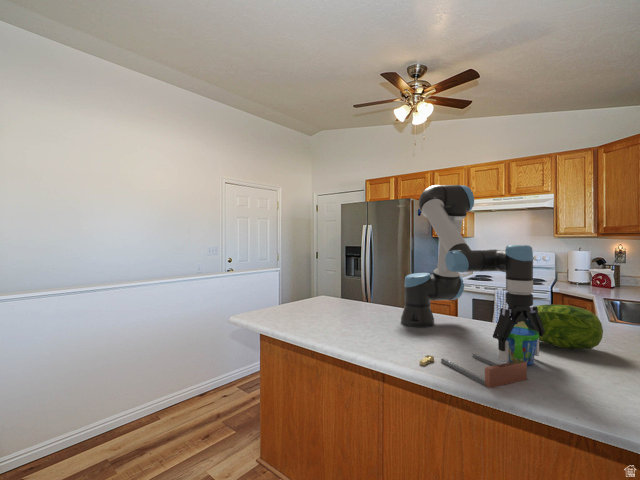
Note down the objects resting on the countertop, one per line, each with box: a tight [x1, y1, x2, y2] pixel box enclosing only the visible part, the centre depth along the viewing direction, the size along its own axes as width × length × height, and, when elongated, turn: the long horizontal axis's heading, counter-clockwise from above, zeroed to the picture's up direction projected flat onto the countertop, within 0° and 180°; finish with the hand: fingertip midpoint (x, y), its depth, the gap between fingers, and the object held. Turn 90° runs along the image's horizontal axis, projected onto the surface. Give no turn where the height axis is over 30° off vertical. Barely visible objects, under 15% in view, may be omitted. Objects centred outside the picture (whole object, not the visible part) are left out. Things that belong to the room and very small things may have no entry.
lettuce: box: [515, 304, 604, 350], centre depth 117 cm, size 15×27×16 cm, turn 53°
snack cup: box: [503, 326, 539, 366], centre depth 102 cm, size 16×10×10 cm
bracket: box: [440, 352, 528, 389], centre depth 96 cm, size 14×18×5 cm
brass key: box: [419, 354, 435, 367], centre depth 102 cm, size 7×3×1 cm, turn 135°
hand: (519, 357), depth 102 cm, fingers open, 13 cm apart
